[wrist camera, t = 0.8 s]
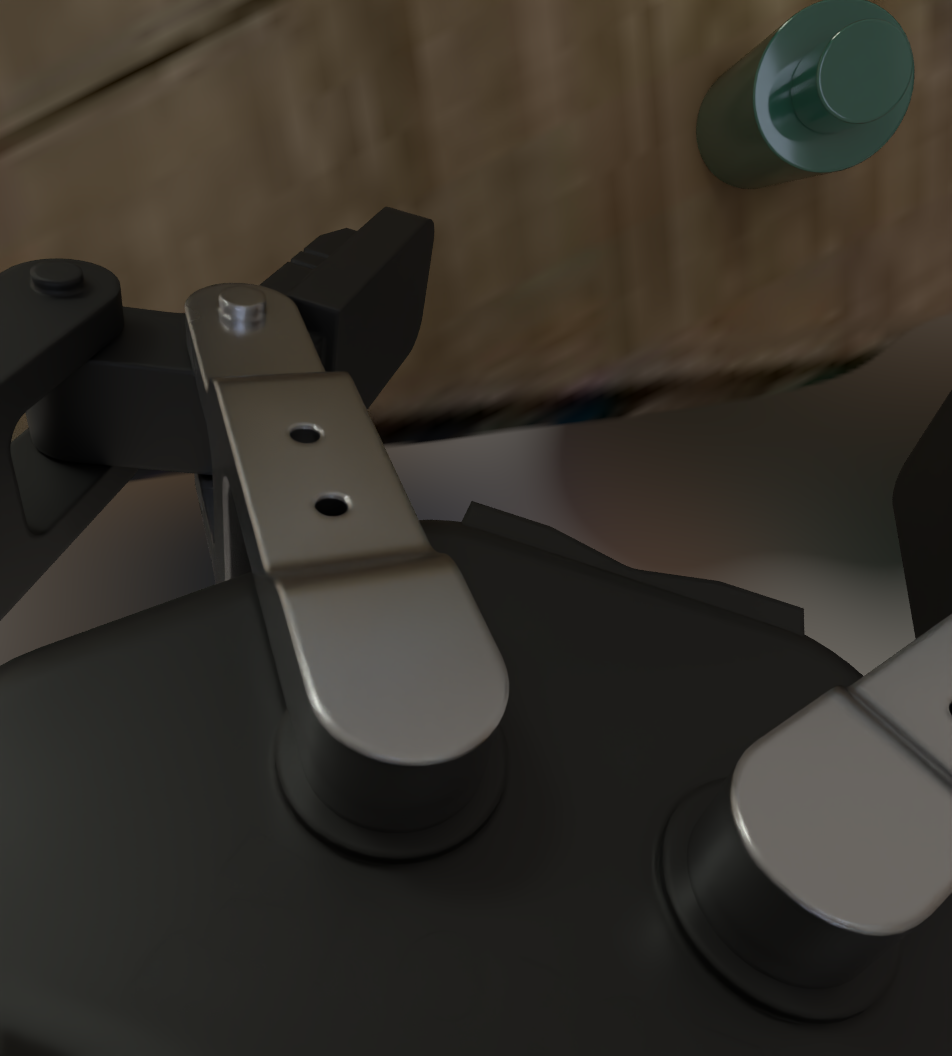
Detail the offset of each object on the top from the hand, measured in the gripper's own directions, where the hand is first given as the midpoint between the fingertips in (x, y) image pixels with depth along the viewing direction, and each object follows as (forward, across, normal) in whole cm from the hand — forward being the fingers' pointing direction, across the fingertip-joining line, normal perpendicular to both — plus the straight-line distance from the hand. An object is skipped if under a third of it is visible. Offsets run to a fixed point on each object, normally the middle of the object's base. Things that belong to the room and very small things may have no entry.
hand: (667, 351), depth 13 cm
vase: (+26, -2, +2) cm, 27 cm away
